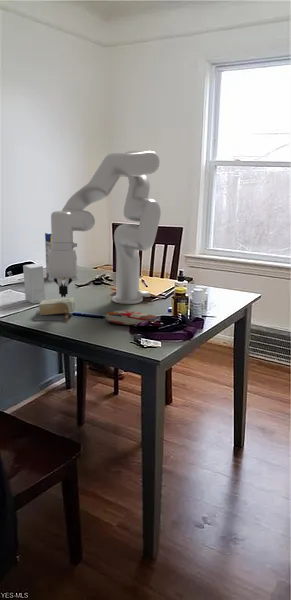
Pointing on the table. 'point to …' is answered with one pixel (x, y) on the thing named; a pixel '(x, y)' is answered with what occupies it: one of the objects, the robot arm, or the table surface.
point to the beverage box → (48, 251)
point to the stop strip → (66, 317)
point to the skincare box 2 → (57, 306)
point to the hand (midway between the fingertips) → (63, 296)
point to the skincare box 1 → (34, 283)
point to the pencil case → (130, 317)
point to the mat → (49, 317)
